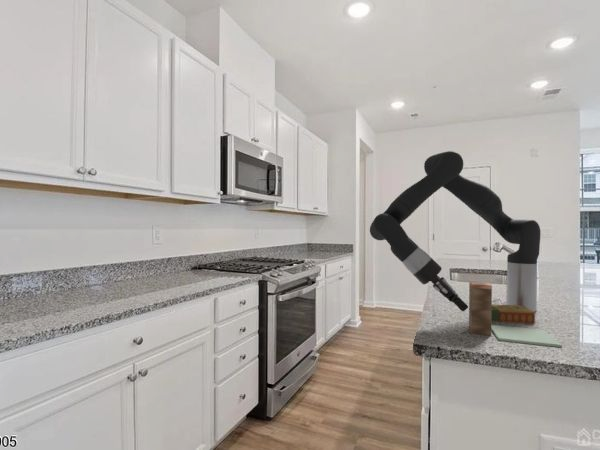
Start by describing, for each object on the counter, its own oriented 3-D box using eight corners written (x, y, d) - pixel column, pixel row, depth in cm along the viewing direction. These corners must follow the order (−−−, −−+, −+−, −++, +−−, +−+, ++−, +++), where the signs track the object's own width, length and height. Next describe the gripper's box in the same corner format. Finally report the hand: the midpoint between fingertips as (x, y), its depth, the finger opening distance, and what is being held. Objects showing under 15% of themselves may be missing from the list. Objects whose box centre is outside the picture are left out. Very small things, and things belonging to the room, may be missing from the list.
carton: (535, 324, 106) (535, 311, 106) (480, 321, 108) (480, 308, 108) (522, 317, 114) (522, 304, 114) (471, 314, 117) (471, 302, 117)
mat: (498, 340, 89) (498, 338, 89) (489, 326, 102) (489, 324, 102) (561, 347, 85) (561, 344, 85) (543, 332, 97) (543, 330, 97)
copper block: (471, 333, 95) (471, 284, 95) (469, 328, 100) (469, 281, 100) (491, 335, 93) (491, 285, 93) (487, 330, 98) (488, 282, 98)
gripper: (431, 259, 95) (479, 305, 91) (430, 255, 108) (472, 296, 103) (411, 276, 97) (457, 323, 93) (412, 270, 109) (453, 311, 105)
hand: (465, 308), depth 98 cm, fingers closed
